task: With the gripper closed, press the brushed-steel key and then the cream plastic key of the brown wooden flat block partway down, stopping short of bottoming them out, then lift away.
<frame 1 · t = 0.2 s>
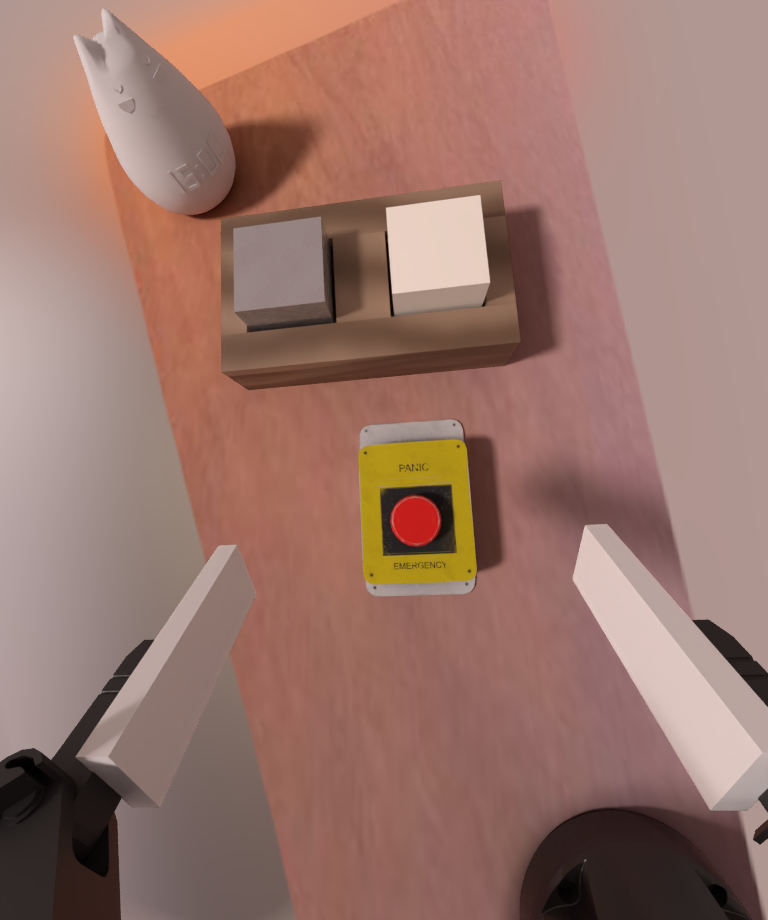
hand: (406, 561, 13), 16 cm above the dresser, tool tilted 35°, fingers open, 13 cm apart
brown wooden flat block: (368, 307, 32), on the dresser
toy character: (201, 186, 35), on the dresser
cream key: (435, 260, 26), point 5 cm above the dresser, slide at 0.0 cm
emergency button: (415, 505, 30), on the dresser
steel key: (286, 278, 27), point 5 cm above the dresser, slide at 0.0 cm
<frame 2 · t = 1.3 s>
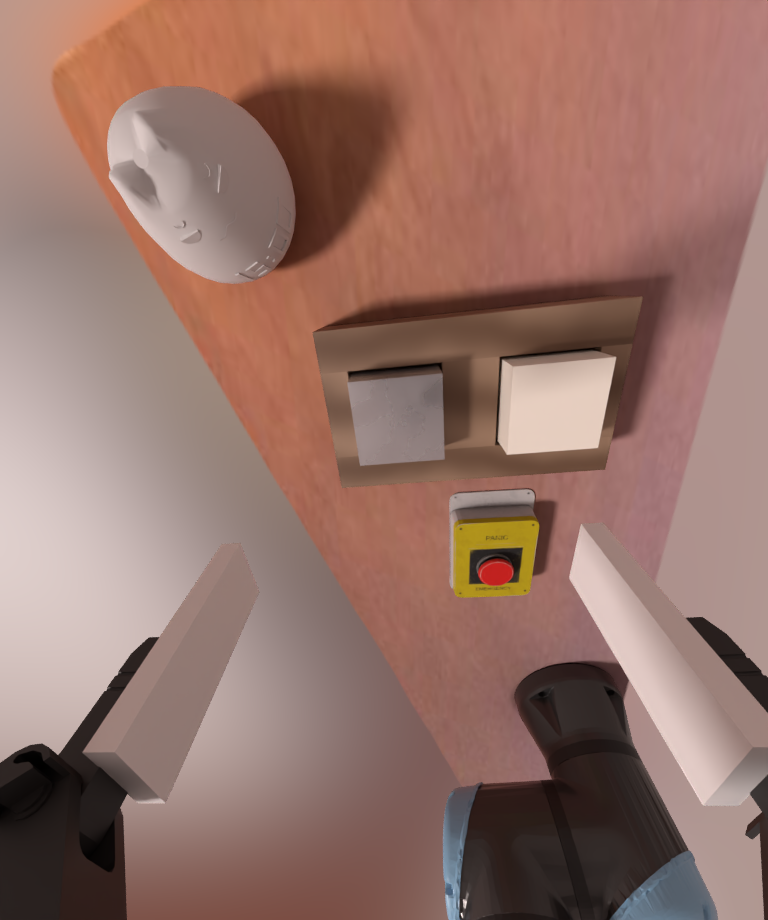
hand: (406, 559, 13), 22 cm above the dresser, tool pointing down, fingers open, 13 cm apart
brown wooden flat block: (461, 391, 32), on the dresser
toy character: (241, 210, 26), on the dresser
cream key: (548, 402, 27), point 5 cm above the dresser, slide at 0.0 cm
emergency button: (487, 539, 41), on the dresser
steel key: (398, 415, 27), point 5 cm above the dresser, slide at 0.0 cm
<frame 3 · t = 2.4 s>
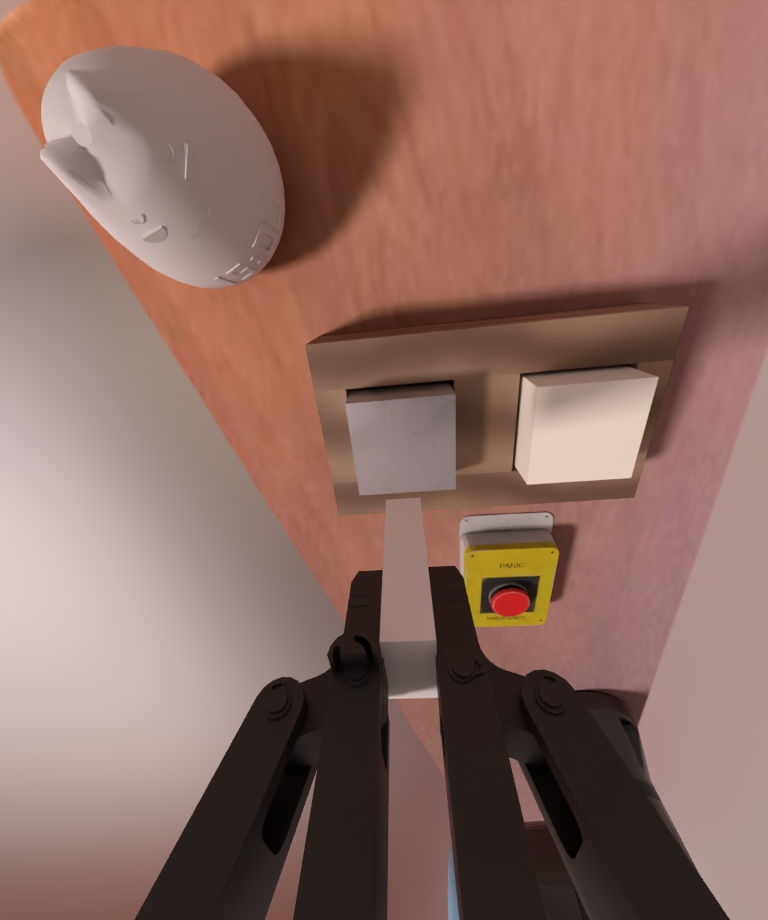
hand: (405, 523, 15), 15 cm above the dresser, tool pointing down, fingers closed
brown wooden flat block: (472, 408, 28), on the dresser
toy character: (223, 203, 23), on the dresser
cream key: (575, 425, 23), point 5 cm above the dresser, slide at 0.0 cm
emergency button: (499, 564, 37), on the dresser
steel key: (403, 439, 24), point 5 cm above the dresser, slide at 0.0 cm
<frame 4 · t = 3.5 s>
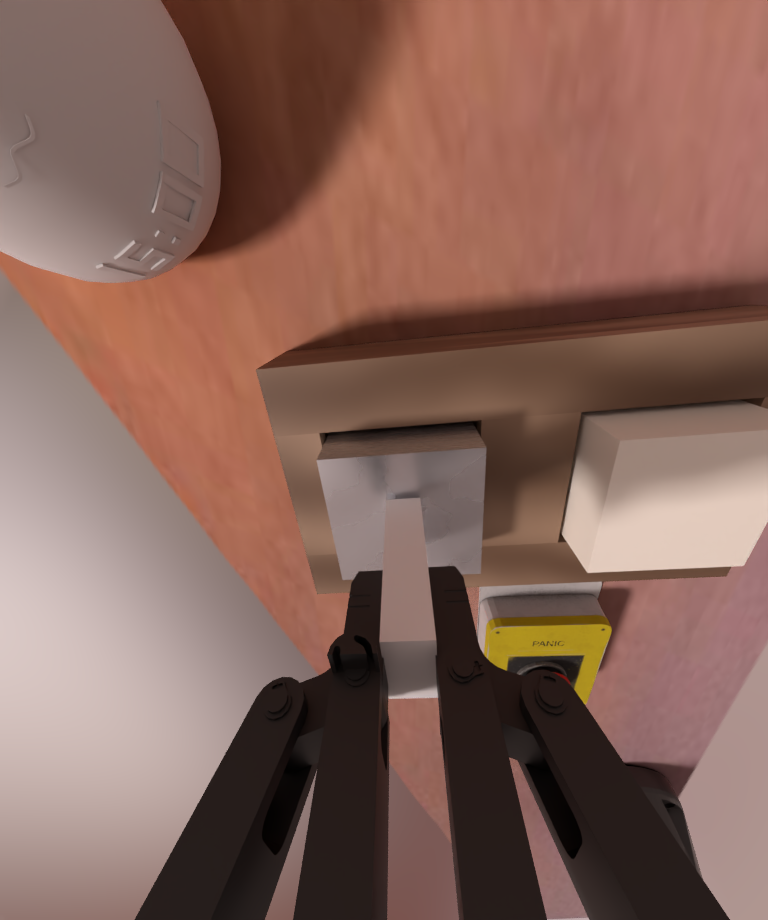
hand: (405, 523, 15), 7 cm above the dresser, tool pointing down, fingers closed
brown wooden flat block: (499, 448, 21), on the dresser
toy character: (132, 154, 15), on the dresser
cream key: (659, 487, 16), point 5 cm above the dresser, slide at 0.0 cm
emergency button: (527, 629, 30), on the dresser
steel key: (404, 500, 17), point 5 cm above the dresser, slide at 0.3 cm, touching gripper
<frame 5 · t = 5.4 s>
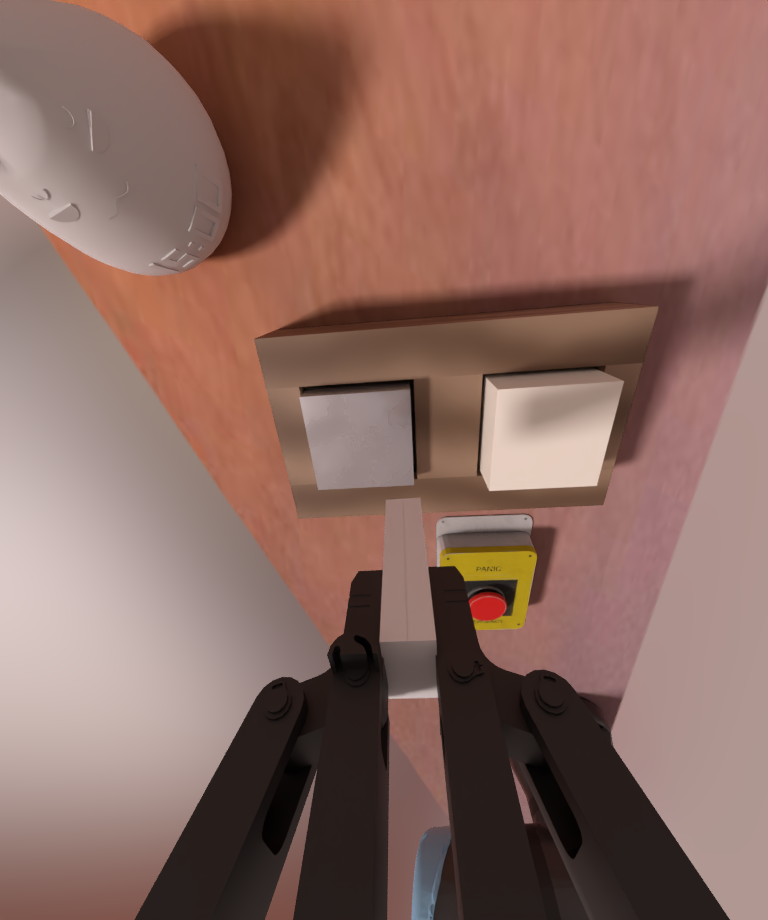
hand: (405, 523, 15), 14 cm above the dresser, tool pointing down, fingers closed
brown wooden flat block: (439, 409, 27), on the dresser
toy character: (168, 184, 21), on the dresser
cream key: (540, 430, 22), point 5 cm above the dresser, slide at 0.0 cm
emergency button: (478, 566, 36), on the dresser
steel key: (362, 433, 24), point 4 cm above the dresser, slide at 1.2 cm
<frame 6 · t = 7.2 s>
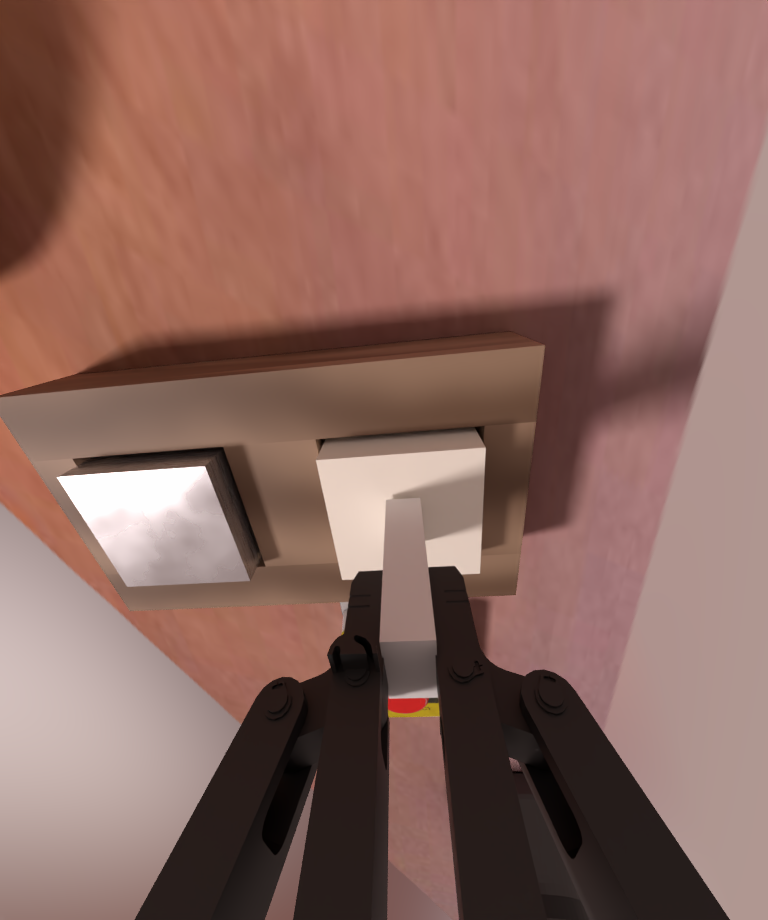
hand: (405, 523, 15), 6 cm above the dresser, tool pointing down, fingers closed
brown wooden flat block: (308, 467, 21), on the dresser
cream key: (404, 500, 17), point 4 cm above the dresser, slide at 1.0 cm
emergency button: (402, 638, 30), on the dresser
steel key: (181, 512, 18), point 4 cm above the dresser, slide at 1.2 cm
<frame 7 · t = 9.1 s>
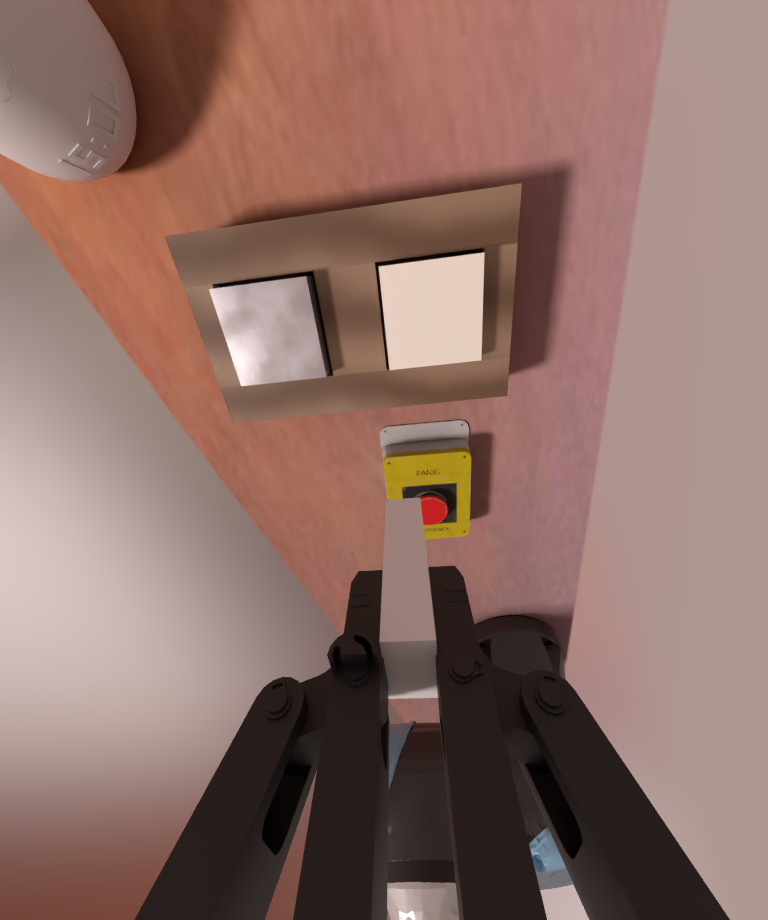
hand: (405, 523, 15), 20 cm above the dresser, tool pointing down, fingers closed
brown wooden flat block: (358, 316, 29), on the dresser
toy character: (81, 97, 23), on the dresser
cream key: (430, 313, 25), point 4 cm above the dresser, slide at 1.2 cm
emergency button: (426, 479, 39), on the dresser
steel key: (278, 332, 26), point 4 cm above the dresser, slide at 1.2 cm
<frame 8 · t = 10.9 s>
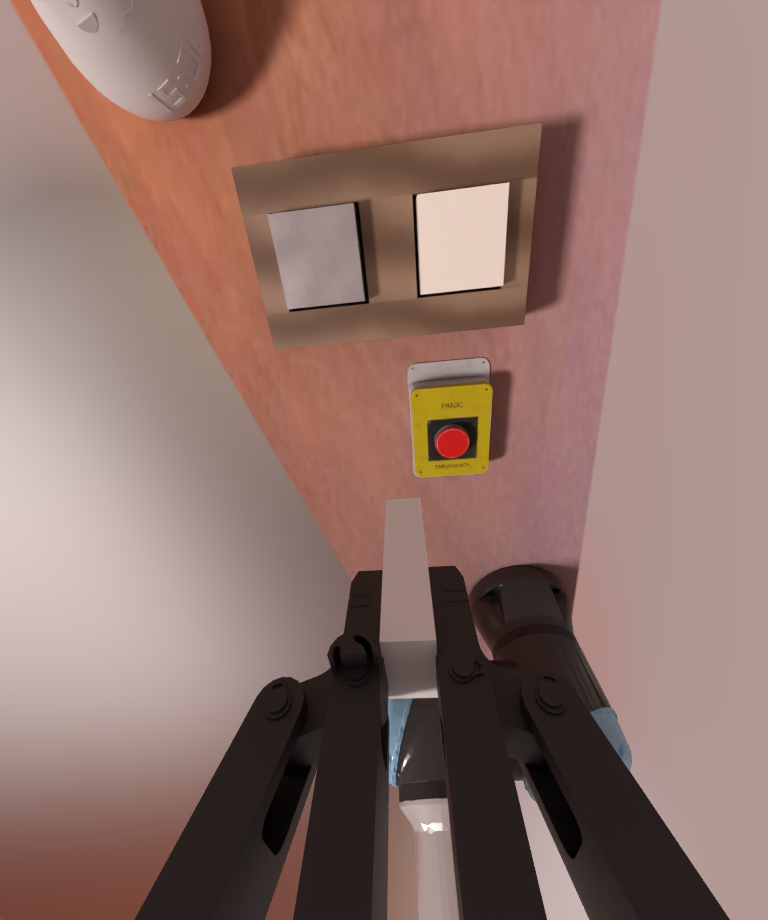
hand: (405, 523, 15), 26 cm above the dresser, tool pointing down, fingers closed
brown wooden flat block: (390, 256, 33), on the dresser
toy character: (162, 50, 27), on the dresser
cream key: (458, 244, 29), point 4 cm above the dresser, slide at 1.2 cm
emergency button: (447, 420, 41), on the dresser
steel key: (322, 260, 30), point 4 cm above the dresser, slide at 1.2 cm
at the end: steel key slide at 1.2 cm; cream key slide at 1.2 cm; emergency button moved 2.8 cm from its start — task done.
